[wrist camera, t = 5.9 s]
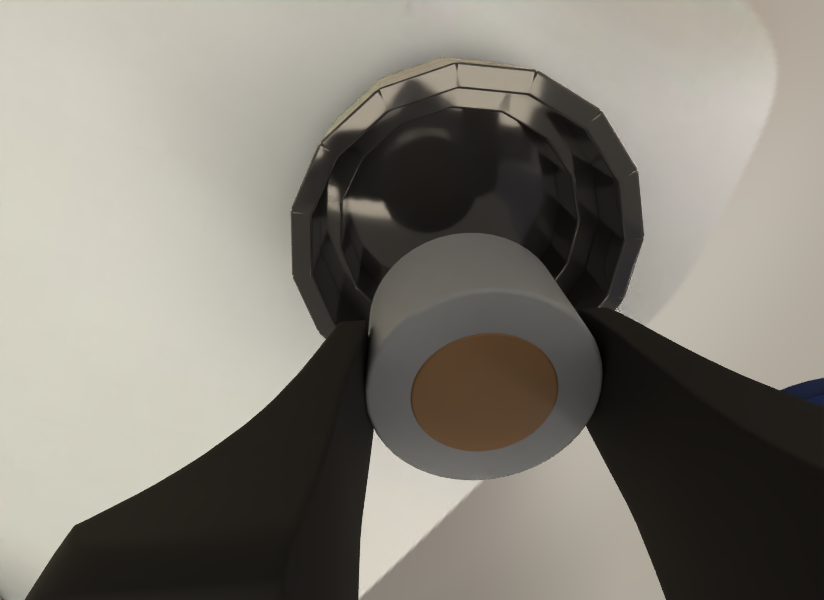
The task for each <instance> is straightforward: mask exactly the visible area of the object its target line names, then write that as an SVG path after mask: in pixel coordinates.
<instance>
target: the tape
mask: <svg viewBox="0 0 824 600" xmlns="http://www.w3.org/2000/svg"><path fill="white" fill-rule="evenodd" d="M368 336H369V340H368V354H367V367H366V377H365V402H366V409H367V413H368V416H369V419H370V421H371V424H372V426H373V428H374V429H375V431H376V433H377V435H378V436H379V438H380V439H381V440H382V441H383V443H384V444H385V445H386V446H387V447H388V448H389V449H390V450H391V451H392V452H393V453H394V454H395V455H396V456H398V457H399V458H401V459H402V460H403V461H405V462H406V463H408V464H410V465H412V466H413V467H415V468H417V469H420V470H422V471H425V472H427V473H430V474H434V475H437V476H440V477H446V478H451V479H460V480H485V479H494V478H500V477H505V476H509V475H513V474H516V473H520V472H523V471H525V470H528V469H530V468H532V467H535V466H537V465H539V464H541V463H543V462H545V461H547V460H548V459H550V458H551V457H553V456H554V455H556V454H557V453H559V452H560V451H561V450H563V449H564V448H565V447H566V446H567V445H569V444H570V443H571V442H572V441H573V439H575V438H576V437H577V436H578V435H579V434H580V432H581V431H582V430H583V428H584V427H585V426H586V424H587V423H588V421H589V420H590V418H591V416H592V414H593V413H594V410H595V408H596V406H597V403H598V401H599V397H600V393H601V389H602V378H603V371H602V360H601V356H600V352H599V348H598V346H597V344H596V342H595V339H594V337H593V336H592V334H591V332H590V331H589V329H588V328H587V326H586V325H585V323H584V322H583V321H582V319H581V318H580V316H579V315H578V313H577V312H576V310H575V309H574V307H573V306H572V305H571V303H570V302H569V300H568V299H567V297H566V296H565V294H564V293H563V291H562V290H561V289H560V287H559V286H558V284H557V283H556V281H555V280H554V278H553V277H552V275H551V274H550V273H549V271H548V270H547V268H546V267H545V265H544V264H543V263H542V262H541V261H540V260H539V259H538V258H537V257H536V256H535V255H534V254H532V253H531V252H530V251H529V250H528V249H526V248H524V247H523V246H521V245H519V244H518V243H515V242H513V241H511V240H508V239H506V238H503V237H499V236H495V235H490V234H483V233H461V234H452V235H448V236H444V237H440V238H437V239H434V240H431V241H429V242H426V243H424V244H422V245H420V246H418V247H417V248H415V249H413V250H412V251H410V252H409V253H407V254H406V255H405V256H403V257H402V258H401V259H400V260H399V261H398V262H397V263H395V264H394V265H393V267H392V268H391V269H390V270H389V271H388V272H387V274H386V275H385V276H384V278H383V280H382V281H381V283H380V284H379V286H378V288H377V291H376V293H375V295H374V298H373V302H372V305H371V311H370V320H369V333H368Z"/></svg>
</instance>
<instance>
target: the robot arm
mask: <svg viewBox="0 0 824 600" xmlns="http://www.w3.org/2000/svg"><path fill="white" fill-rule="evenodd" d="M579 316H580V318H581V319H582V321H583V322H584V323H585V325H586V326H587V328H588V329H589V331H590V332H591V334H592V336H593V337H594V339H595V342H596V344H597V346H598V348H599V352H600V356H601V360H602V371H603V378H602V389H601V393H600V397H599V401H598V403H597V406H596V408H595V410H594V413H593V414H592V416H591V418H590V420H589V421H588V423H587V424H586V427H587V429H588V431H589V433H590V434H591V436H592V438H593V440H594V442H595V444H596V446H597V448H598V450H599V452H600V454H601V456H602V457H603V459H604V461H605V463H606V465H607V467H608V469H609V471H610V473H611V474H612V476H613V478H614V480H615V482H616V484H617V486H618V487H619V489H620V491H621V493H622V495H623V497H624V499H625V501H626V503H627V505H628V507H629V509H630V511H631V513H632V515H633V517H634V519H635V522H636V523H637V526H638V529H639V531H640V534H641V536H642V539H643V541H644V544H645V546H646V548H647V551H648V554H649V556H650V558H651V561H652V563H653V566H654V569H655V571H656V574H657V577H658V579H659V582H660V585H661V587H662V590H663V592H664V595H665V598H666V600H824V406H821V405H818V404H815V403H812V402H809V401H807V400H804V399H801V398H798V397H795V396H793V395H790V394H787V393H785V392H782V391H780V390H777V389H775V388H772V387H770V386H767V385H765V384H762V383H760V382H757V381H755V380H752V379H750V378H747V377H745V376H743V375H740V374H738V373H736V372H734V371H732V370H729V369H727V368H725V367H723V366H721V365H719V364H717V363H715V362H713V361H710V360H708V359H706V358H704V357H702V356H700V355H698V354H696V353H694V352H692V351H690V350H688V349H686V348H684V347H682V346H680V345H679V344H677V343H675V342H673V341H671V340H669V339H667V338H665V337H663V336H662V335H660V334H658V333H656V332H654V331H653V330H651V329H649V328H647V327H645V326H643V325H641V324H640V323H638V322H636V321H634V320H632V319H630V318H628V317H626V316H624V315H623V314H620V313H618V312H616V311H614V310H612V309H609V308H607V307H601V308H582V309H579ZM368 340H369V336H368V326H367V320H362V321H344V322H339V323H338V324H337V325H336V326H335V328H334V329H333V331H332V332H331V333H330V335H329V336H328V337H327V339H326V340H325V341H324V343H323V344H322V345H321V347H320V348H319V349H318V350H317V352H316V353H315V354H314V355H313V357H312V358H311V359H310V360H309V361H308V363H307V364H306V365H305V366H304V367H303V369H302V370H301V371H300V372H299V373H298V374H297V376H296V377H295V378H294V379H293V380H292V381H291V382H290V383H289V384H288V385H287V386H286V387H285V388H284V389H283V390H282V391H281V392H280V394H279V395H278V396H277V397H276V398H275V399H274V400H273V401H272V402H270V403H269V404H268V405H267V406H266V407H265V408H264V409H263V410H262V411H260V412H259V413H258V414H257V415H256V416H255V417H253V418H252V419H251V420H250V421H249V422H247V423H246V424H245V425H244V426H242V427H241V428H240V429H239V430H237V431H236V432H234V433H233V434H232V435H230V436H229V437H227V438H226V439H225V440H223V441H222V442H221V443H219V444H218V445H216V446H215V447H214V448H212V449H211V450H209V451H208V452H207V453H205V454H204V455H202V456H201V457H199V458H198V459H196V460H195V461H193V462H191V463H190V464H188V465H187V466H185V467H184V468H182V469H180V470H179V471H177V472H175V473H174V474H172V475H170V476H169V477H167V478H165V479H164V480H162V481H160V482H158V483H157V484H155V485H153V486H151V487H150V488H148V489H146V490H144V491H142V492H141V493H139V494H137V495H135V496H133V497H131V498H129V499H127V500H125V501H123V502H121V503H119V504H117V505H115V506H113V507H111V508H109V509H107V510H105V511H103V512H101V513H99V514H97V515H95V516H94V517H92V518H90V519H87V520H85V521H83V522H81V523H79V524H77V525H75V526H74V527H73V528H72V530H71V531H70V532H69V534H68V535H67V537H66V538H65V539H64V541H63V542H62V544H61V545H60V546H59V548H58V549H57V551H56V552H55V554H54V555H53V557H52V558H51V560H50V561H49V563H48V564H47V566H46V567H45V569H44V570H43V572H42V574H41V575H40V577H39V578H38V580H37V581H36V583H35V584H34V586H33V588H32V589H31V591H30V592H29V594H28V595H27V597H26V598H25V600H358V589H359V559H360V536H361V525H362V516H363V508H364V501H365V493H366V486H367V478H368V471H369V463H370V455H371V447H372V440H373V432H374V428H373V426H372V424H371V421H370V419H369V416H368V413H367V409H366V402H365V377H366V367H367V354H368Z"/></svg>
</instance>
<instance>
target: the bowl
mask: <svg viewBox="0 0 824 600" xmlns="http://www.w3.org/2000/svg"><path fill="white" fill-rule="evenodd" d="M461 233H483V234H490V235H495V236H499V237H503V238H506V239H508V240H511V241H513V242H515V243H518V244H519V245H521V246H523V247H524V248H526V249H528V250H529V251H530V252H531V253H532V254H534V255H535V256H536V257H537V258H538V259H539V260H540V261H541V262H542V263H543V264H544V265H545V267H546V268H547V270H548V271H549V273H550V274H551V275H552V277H553V278H554V280H555V281H556V283H557V284H558V286H559V287H560V289H561V290H562V291H563V293H564V294H565V296H566V297H567V299H568V300H569V302H570V303H571V305H572V306H573V307H574V309H575V310H576V312H577V313H578V315H579V309H582V308H601V307H607V308H609V309H612V310H614V311H615V309H616V308H617V307H618V306H619V304H620V303H621V302H622V301H623V298H624V297H625V294H626V291H627V288H628V285H629V282H630V279H631V276H632V273H633V270H634V267H635V264H636V261H637V257H638V254H639V251H640V248H641V245H642V242H643V237H644V231H643V220H642V209H641V198H640V187H639V177H638V172H637V168H636V166H635V165H634V163H633V161H632V160H631V158H630V156H629V155H628V153H627V152H626V150H625V148H624V147H623V145H622V143H621V142H620V140H619V138H618V137H617V135H616V133H615V132H614V130H613V128H612V127H611V125H610V123H609V122H608V120H607V118H606V117H605V115H604V114H603V112H602V111H600V109H599V108H598V107H596V106H594V105H593V104H591V103H589V102H588V101H586V100H585V99H583V98H581V97H580V96H578V95H577V94H575V93H573V92H572V91H570V90H569V89H567V88H565V87H564V86H562V85H561V84H559V83H557V82H556V81H554V80H553V79H551V78H549V77H548V76H546V75H545V74H543V73H541V72H540V71H536V70H535V69H530V68H525V67H520V66H514V65H509V64H504V63H496V62H486V61H476V60H466V59H457V58H447V57H443V58H437V59H434V60H432V61H429V62H426V63H423V64H420V65H417V66H414V67H411V68H408V69H405V70H402V71H400V72H397V73H394V74H391V75H388V76H385V77H382V78H381V79H379V80H378V81H377V82H376V83H375V84H374V85H373V86H371V87H370V88H369V89H368V90H367V91H366V92H365V93H364V94H363V95H362V96H361V97H360V98H359V99H358V100H356V101H355V102H354V103H353V104H352V105H351V106H350V107H349V108H348V109H347V110H346V111H345V112H344V113H343V114H341V115H340V116H339V117H338V118H337V119H336V120H335V122H334V123H333V124H332V126H331V127H330V129H329V130H328V132H327V133H326V135H325V136H324V138H323V139H322V140H321V142H320V143H319V145H318V147H317V149H316V152H315V154H314V156H313V159H312V161H311V163H310V166H309V168H308V170H307V173H306V175H305V177H304V180H303V182H302V184H301V187H300V189H299V191H298V194H297V196H296V198H295V201H294V203H293V205H292V210H291V246H292V275H293V279H294V281H295V283H296V285H297V287H298V289H299V292H300V294H301V296H302V298H303V300H304V302H305V304H306V306H307V309H308V311H309V313H310V315H311V317H312V319H313V321H314V323H315V326H316V328H317V330H318V331H319V333H320V334H321V335H322V336H323V337H324V338H325V339H327V337H328V336H329V335H330V333H331V332H332V331H333V329H334V328H335V326H336V325H337V324H338V323H339V322H344V321H362V320H367V326H368V333H369V320H370V311H371V305H372V302H373V298H374V295H375V293H376V291H377V288H378V286H379V284H380V283H381V281H382V280H383V278H384V276H385V275H386V274H387V272H388V271H389V270H390V269H391V268H392V267H393V265H394V264H395V263H397V262H398V261H399V260H400V259H401V258H402V257H403V256H405V255H406V254H407V253H409V252H410V251H412V250H413V249H415V248H417V247H418V246H420V245H422V244H424V243H426V242H429V241H431V240H434V239H437V238H440V237H444V236H448V235H452V234H461Z"/></svg>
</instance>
